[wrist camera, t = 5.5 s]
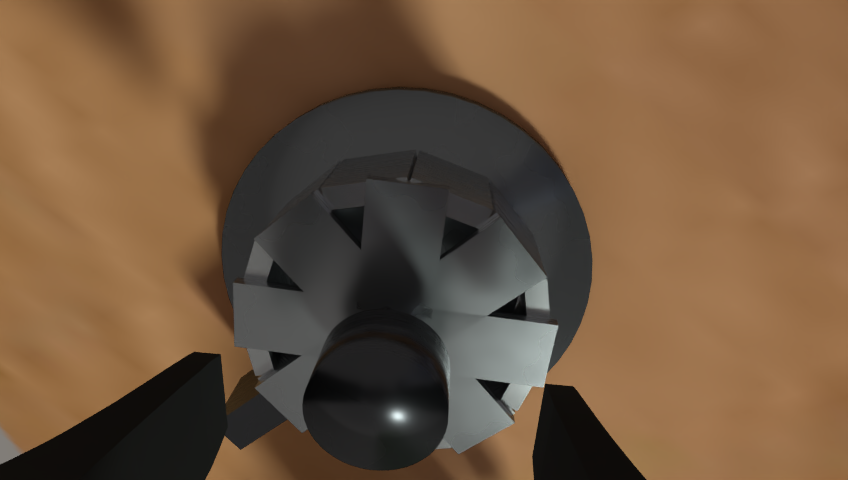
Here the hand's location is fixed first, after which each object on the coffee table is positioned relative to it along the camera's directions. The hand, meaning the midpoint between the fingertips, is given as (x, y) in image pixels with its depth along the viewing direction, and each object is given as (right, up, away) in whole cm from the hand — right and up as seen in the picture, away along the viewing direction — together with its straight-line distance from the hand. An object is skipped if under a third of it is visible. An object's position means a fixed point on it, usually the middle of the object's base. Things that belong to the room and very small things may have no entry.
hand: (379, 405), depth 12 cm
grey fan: (0, +3, +6) cm, 7 cm away
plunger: (0, +2, +6) cm, 6 cm away
